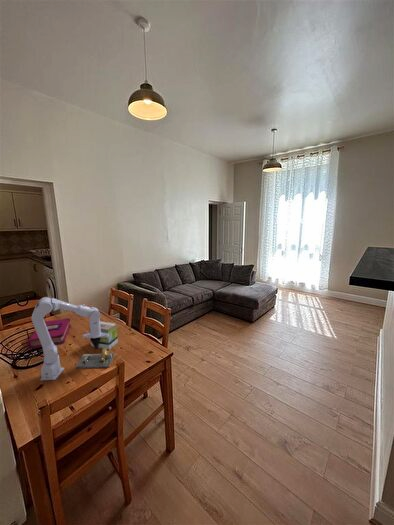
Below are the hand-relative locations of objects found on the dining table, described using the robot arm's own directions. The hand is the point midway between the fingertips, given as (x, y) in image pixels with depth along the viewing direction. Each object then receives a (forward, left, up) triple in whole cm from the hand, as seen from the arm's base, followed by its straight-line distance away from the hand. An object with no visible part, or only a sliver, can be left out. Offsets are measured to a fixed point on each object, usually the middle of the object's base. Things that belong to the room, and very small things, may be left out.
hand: (96, 348), depth 134 cm
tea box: (+17, +1, -8) cm, 18 cm away
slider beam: (-2, 0, -7) cm, 7 cm away
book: (+30, +44, -8) cm, 54 cm away
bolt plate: (-2, 0, -8) cm, 8 cm away
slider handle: (-1, -4, -6) cm, 8 cm away
